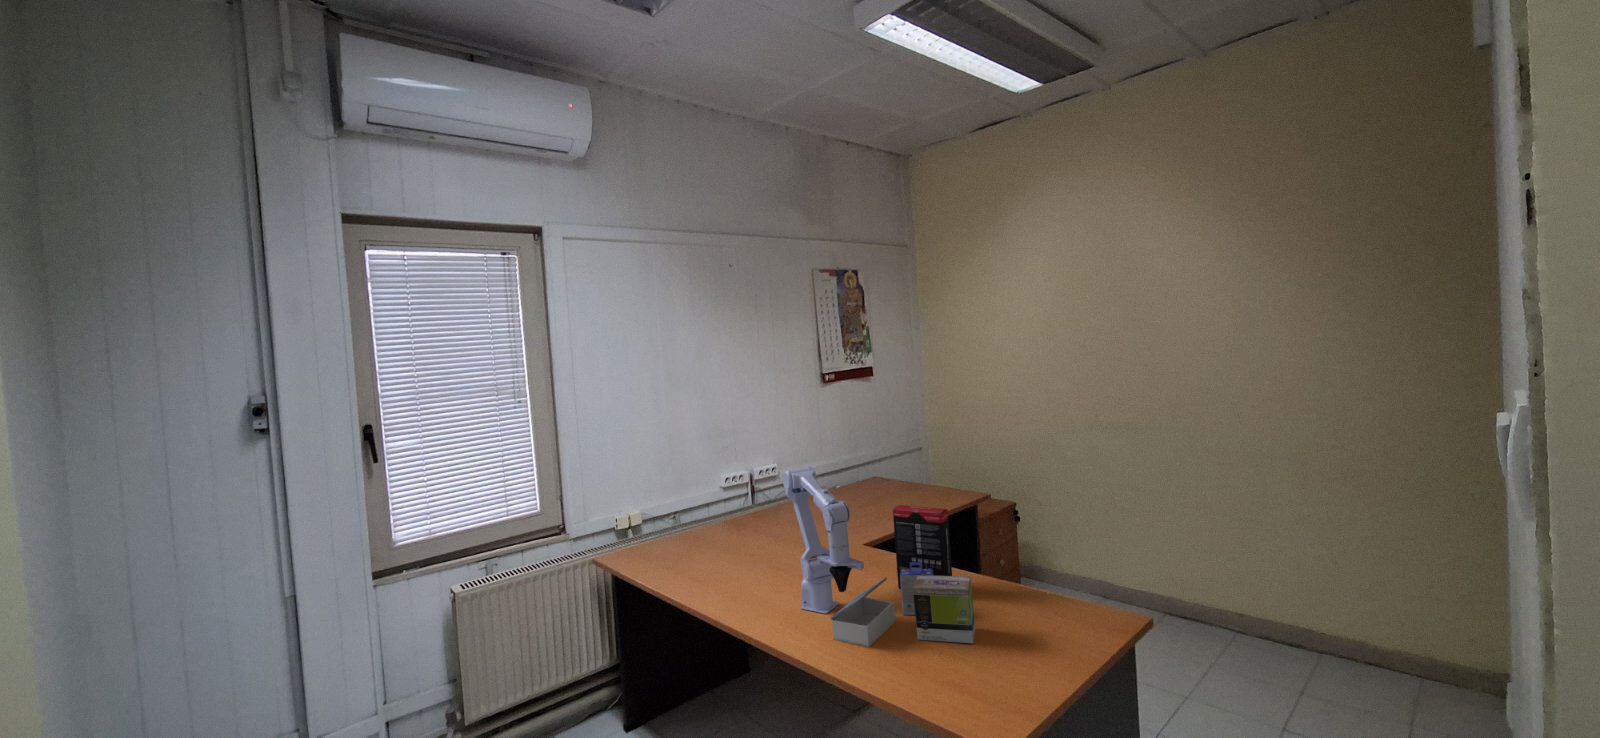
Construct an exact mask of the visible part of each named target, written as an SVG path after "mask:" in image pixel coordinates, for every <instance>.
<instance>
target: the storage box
mask: <svg viewBox="0 0 1600 738" xmlns="http://www.w3.org/2000/svg"><path fill="white" fill-rule="evenodd" d="M895 611H896V610H895V602H893V601H888V600H883V599H876V598H871V597H868V596H866V597H865V598H864V599H863V600H862V601H860V602H859V603H858V604H856V605H854V606H853V607H851V608H850V609H848V610H846V611H845V612H843V613H842V614H840V615H839V616H837V617H835V618H834V619H832V620H831V625H832V636H833V640H834V639H835V641H839V642H843V641H844V643H847V642H848V643H847V644H852V643H853V644H852V645H856V644H857V646H861V647H865V648H870V647H871V645H873V644H874V643H875V642H876V641H877V640H879V638H880V637H881V636H882V635H883V634H884V633H885V632H886V631H887V630H888V629H889V628H890V627H891V626H892V625H893V624H894V623H895V622H896V615H895ZM878 637H879V638H878ZM873 642H874V643H873Z"/></svg>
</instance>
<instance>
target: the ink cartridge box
mask: <svg viewBox="0 0 1600 738" xmlns="http://www.w3.org/2000/svg"><path fill="white" fill-rule="evenodd" d="M912 565H920V567H912ZM918 575H933V570H932V569H922V562H910V569H905V570H901V571H900V584H901V589H900V596H901V608H902V615H903V616H915V608H914V597H913V586H914V584H915V581H916V578H917V576H918Z"/></svg>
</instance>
